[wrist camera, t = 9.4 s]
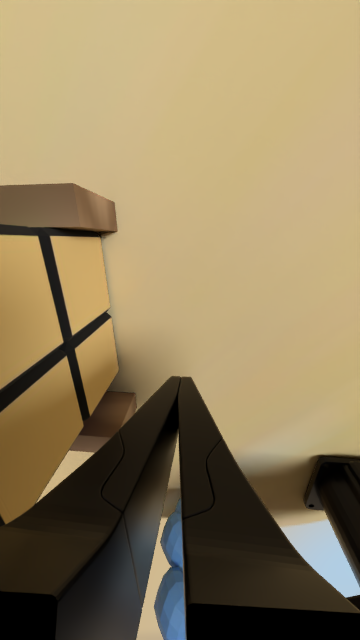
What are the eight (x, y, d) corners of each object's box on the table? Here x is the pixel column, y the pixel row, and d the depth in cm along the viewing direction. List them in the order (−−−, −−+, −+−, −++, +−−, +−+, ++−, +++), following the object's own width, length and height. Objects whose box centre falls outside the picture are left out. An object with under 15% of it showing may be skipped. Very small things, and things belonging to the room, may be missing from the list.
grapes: (257, 534, 22) (316, 835, 11) (199, 541, 24) (200, 810, 12) (218, 465, 19) (246, 803, 7) (154, 478, 20) (97, 774, 9)
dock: (139, 429, 18) (111, 515, 12) (8, 419, 19) (-73, 494, 13) (108, 147, 10) (4, 39, 5) (-103, 157, 12) (-384, 79, 6)
